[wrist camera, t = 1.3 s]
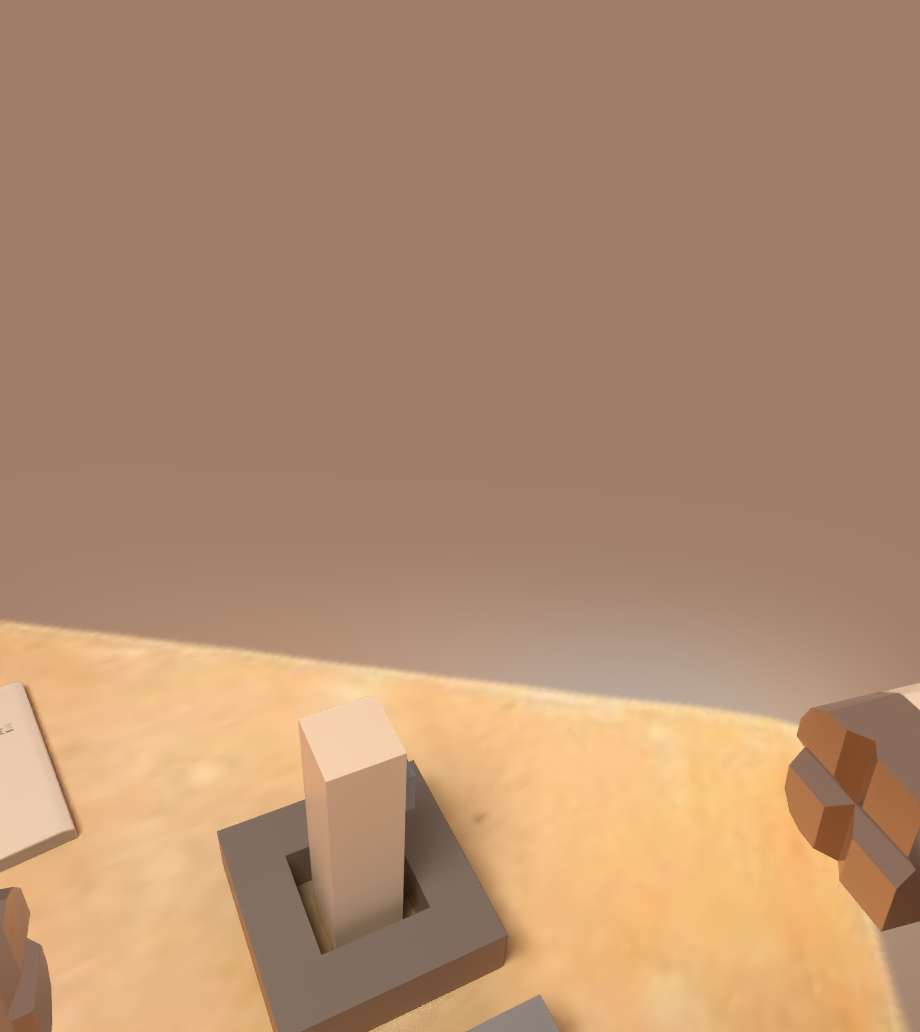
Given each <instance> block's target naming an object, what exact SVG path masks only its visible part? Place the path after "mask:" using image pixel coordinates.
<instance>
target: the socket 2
mask: <svg viewBox="0 0 920 1032" xmlns="http://www.w3.org/2000/svg"><path fill="white" fill-rule="evenodd" d="M466 1032H560V1031H559V1029H558V1027H557V1025H556V1023H555V1022H554V1020H553V1018H552V1016H551V1014H550V1012H549V1011H548V1009H547V1007H546V1005H545V1003H544V1001H543V999H542V998H541V996H540V995H538V996H536V997H534V998H532V999H530V1000H528V1001H526V1002H524V1003H522V1004H520V1005H518V1006H516V1007H514V1008H512V1009H510V1010H508V1011H506V1012H504V1013H502V1014H500V1015H498V1016H496V1017H494V1018H492V1019H490V1020H488V1021H486V1022H484V1023H482V1024H480V1025H478V1026H476V1027H474V1028H472V1029H470V1030H468V1031H466Z"/></svg>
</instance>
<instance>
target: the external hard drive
mask: <svg viewBox="0 0 920 1032" xmlns="http://www.w3.org/2000/svg"><path fill="white" fill-rule="evenodd" d="M76 838H78V834H77V832H76V829H75V826H74V823H73V821H72V818H71V815H70V812H69V810H68V807H67V804H66V802H65V799H64V796H63V793H62V791H61V788H60V785H59V782H58V780H57V777H56V774H55V771H54V768H53V766H52V763H51V760H50V757H49V755H48V752H47V749H46V746H45V743H44V741H43V738H42V735H41V732H40V730H39V727H38V724H37V721H36V719H35V716H34V713H33V710H32V708H31V705H30V702H29V699H28V697H27V694H26V691H25V688H24V685H23V683H22V682H14V683H10V684H8V685H5V686H2V687H0V872H3V871H5V870H7V869H9V868H11V867H14V866H16V865H18V864H20V863H22V862H25V861H27V860H29V859H31V858H33V857H36V856H38V855H40V854H42V853H45V852H47V851H49V850H51V849H53V848H56V847H58V846H60V845H62V844H65V843H67V842H69V841H71V840H74V839H76Z"/></svg>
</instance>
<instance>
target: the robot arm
mask: <svg viewBox="0 0 920 1032" xmlns="http://www.w3.org/2000/svg"><path fill="white" fill-rule="evenodd" d="M797 737H798V738H799V740H800V742H801V743H802V745H803V746H804V749H803V750H802V751H801V752H800V753H799V754H798V756H797V757H796V758H795V759H794V760H793V761H792V763H791V764H790V765H789V768H788V774H787V779H786V784H785V792H786V797H787V801H788V806H789V811H790V813H791V815H792V817H793V819H794V821H795V823H796V825H797V827H798V829H799V831H800V832H801V833H802V835H803V836H804V837H805V838H806V840H807V841H808V842H809V844H810V845H811V846H812V847H813V848H814V849H816V850H818V851H820V852H822V853H824V854H825V855H827V856H829V857H831V858H833V859H835V860H837V861H838V867H839V881H840V882H841V883H842V884H843V886H844V887H845V888H846V889H847V890H848V892H849V893H850V894H851V895H852V897H853V898H854V899H855V900H856V901H857V903H858V904H859V905H860V906H861V908H862V909H863V910H864V911H865V912H866V914H867V915H868V916H869V917H870V919H871V920H872V921H873V922H874V923H875V925H876V926H877V927H878V928H879V930H880V931H881V932H882V931H885V930H889V929H892V928H896V927H900V926H904V925H908V924H911V923H915V922H918V921H920V683H918V684H914V685H910V686H905V687H901V688H896V689H892V690H888V691H886V692H877V693H873V694H869V695H865V696H860V697H856V698H852V699H848V700H844V701H839V702H835V703H831V704H827V705H822V706H818V707H814V708H810V710H809V711H808V712H807V713H806V714H805V715H804V716H803V717H802V718H801V721H800V725H799V729H798V732H797ZM29 917H30V911H29V908H28V906H27V903H26V901H25V898H24V895H23V893H22V890H21V888H17V887H10V888H5V889H0V1032H51V1030H52V998H51V983H50V977H49V972H48V966H47V962H46V958H45V955H44V952H43V949H42V946H41V945H40V944H38V943H36V942H34V941H32V940H30V939H28V938H27V932H28V925H29Z"/></svg>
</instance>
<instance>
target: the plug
mask: <svg viewBox="0 0 920 1032" xmlns="http://www.w3.org/2000/svg"><path fill="white" fill-rule="evenodd" d="M298 722H299V734H300V746H301V757H302V769H303V780H304V792H305V804H306V815H307V827H308V839H309V850H310V862H311V874H312V885H313V897H314V900H315V903H316V905H317V908H318V911H319V913H320V916H321V919H322V921H323V924H324V927H325V929H326V932H327V935H328V937H329V940H330V943H331V945H332V948H333V950H334V949H336V948H338V947H341V946H343V945H345V944H348V943H350V942H352V941H355V940H357V939H359V938H361V937H364V936H366V935H368V934H371V933H373V932H375V931H377V930H380V929H382V928H384V927H387V926H389V925H391V924H393V923H396V922H398V921H400V920H403V884H404V846H405V812H406V811H408V810H411V809H413V808H415V783H416V775H415V773H414V771H413V769H412V767H411V765H410V763H409V762H408V760H407V752H406V750H405V749H404V747H403V745H402V743H401V741H400V739H399V737H398V735H397V734H396V732H395V730H394V728H393V726H392V724H391V722H390V721H389V719H388V717H387V715H386V713H385V711H384V709H383V707H382V706H381V704H380V702H379V700H378V698H377V696H376V694H373V695H370V696H367V697H364V698H361V699H358V700H355V701H351V702H348V703H345V704H342V705H339V706H336V707H333V708H330V709H327V710H324V711H321V712H318V713H315V714H312V715H308V716H305V717H302V718H299V719H298Z"/></svg>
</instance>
